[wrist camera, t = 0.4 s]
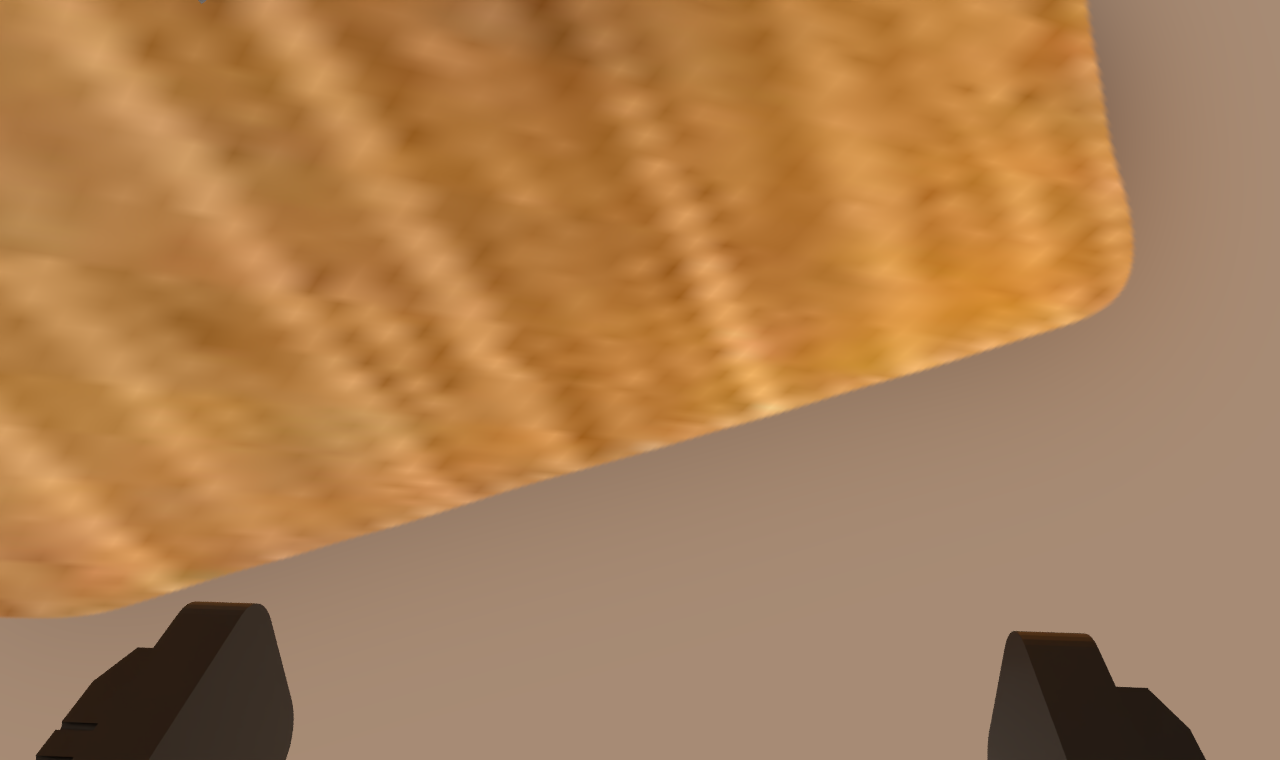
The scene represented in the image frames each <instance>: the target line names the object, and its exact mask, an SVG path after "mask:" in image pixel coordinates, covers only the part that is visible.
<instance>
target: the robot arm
mask: <svg viewBox="0 0 1280 760" xmlns="http://www.w3.org/2000/svg"><path fill="white" fill-rule="evenodd" d="M293 720H294V719H293V705H292V700H291V696H290V692H289V689H288V684H287V681H286V677H285V673H284V669H283V665H282V661H281V657H280V653H279V649H278V646H277V641H276V638H275V634H274V630H273V626H272V622H271V619H270V616H269V613H268V611H267V610H266V608H265V607H264V606H263V605H261V604H254V603H253V604H252V603H224V602H222V603H221V602H191V603H189V604H187V605H186V606H185V607H184V608H183V609H182V610H181V611H180V612H179V614H178V615H177V616H176V618H175V619H174V620H173V622H172V623H171V624H170V626H169V627H168V628H167V630H166V631H165V633H164V634H163V635H162V637H161V638H160V639H159V641H158V642H157V644H156V645H155V646H154V648H137V649H135V650H134V651H133V652H131V653H130V654H128V655H127V656H126V657H125V658H123V659H122V660H121V661H119V662H118V663H117V664H115V665H114V666H113V667H111V668H110V669H109V670H107V671H106V672H105V673H104V674H102V675H101V676H99V677H98V678H97V679H95V680H94V681H93V682H92V683H91V685H90V686H89V687H88V689H87V690H86V691H85V692H84V694H83V695H82V697H81V698H80V699H79V700H78V701H77V703H76V704H75V705H74V707H73V708H72V709H71V711H70V712H69V713H68V714H67V716H66V717H65V718H64V720H63V721H62V727H61V729H60V730H55V731H54V733H53V734H52V735H51V736H50V738H49V739H48V740H47V742H46V743H45V744H44V745H43V747H42V748H41V749H40V751H39V752H38V753H37V755H36V760H286V757H287V754H288V751H289V748H290V744H291V738H292V731H293ZM988 760H1206V759H1205V757H1204V755H1203V753H1202V752H1201V750H1200V748H1199V746H1198V744H1197V742H1196V740H1195V738H1194V736H1193V734H1192V732H1191V730H1190V729H1189V728H1188V727H1187V726H1186V725H1185V724H1184V723H1183V722H1182V721H1181V720H1180V719H1179V718H1178V717H1177V716H1176V715H1175V714H1173V712H1171V710H1169V709H1168V708H1167V707H1166V706H1165V705H1164V704H1163V703H1162V702H1161V701H1160V700H1159V699H1158V698H1157V697H1156V696H1155V695H1154V694H1153V693H1152V692H1151V691H1149V690H1148V688H1132V687H1116V686H1115V684H1114V682H1113V680H1112V677H1111V675H1110V673H1109V671H1108V669H1107V666H1106V664H1105V662H1104V660H1103V658H1102V656H1101V653H1100V651H1099V649H1098V647H1097V645H1096V643H1095V641H1094V640H1093V639H1092V638H1091V637H1090V636H1089V635H1088V634H1081V633H1054V632H1023V631H1021V632H1020V631H1013V632H1011V633H1010V634H1009V636H1008V638H1007V641H1006V645H1005V649H1004V655H1003V660H1002V666H1001V671H1000V676H999V682H998V688H997V693H996V698H995V704H994V709H993V714H992V720H991V725H990V731H989V737H988Z"/></svg>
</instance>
